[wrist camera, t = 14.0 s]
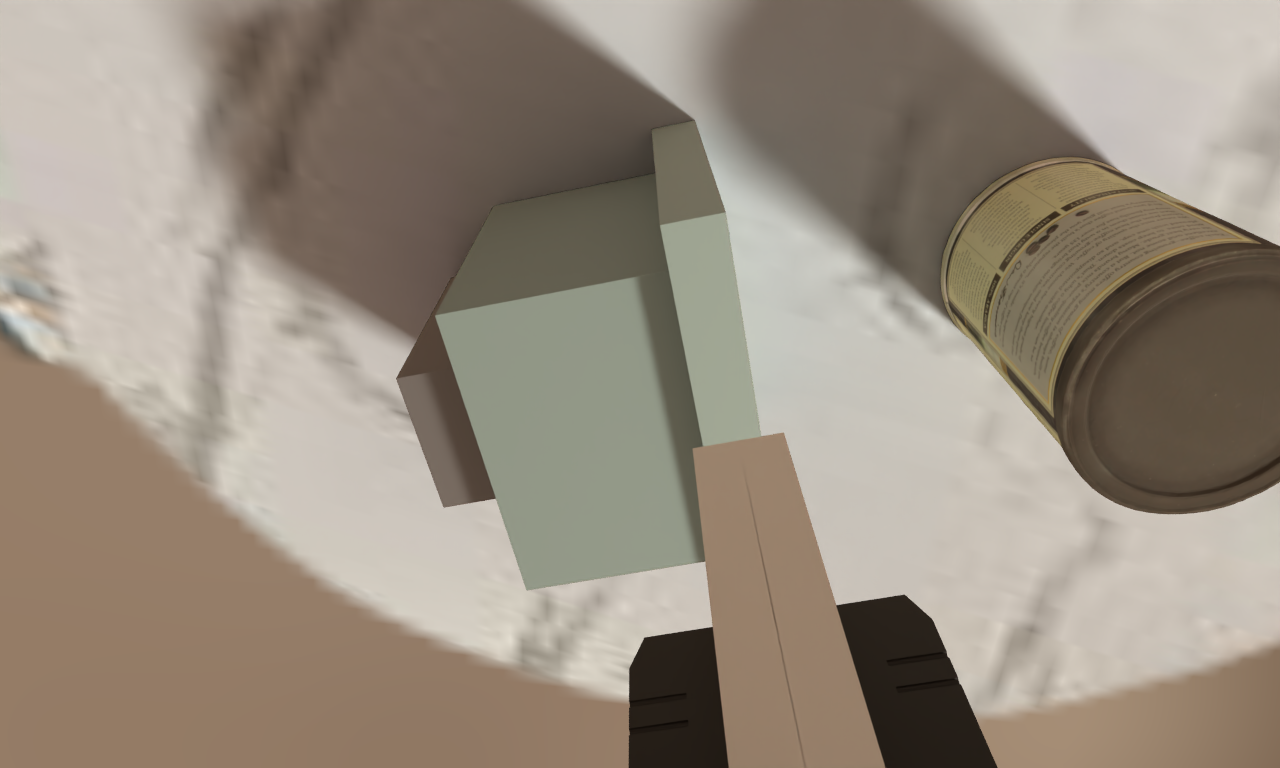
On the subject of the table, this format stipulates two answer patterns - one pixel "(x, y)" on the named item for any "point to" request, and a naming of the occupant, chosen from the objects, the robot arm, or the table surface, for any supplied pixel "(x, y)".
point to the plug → (443, 419)
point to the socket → (603, 364)
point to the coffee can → (1126, 330)
